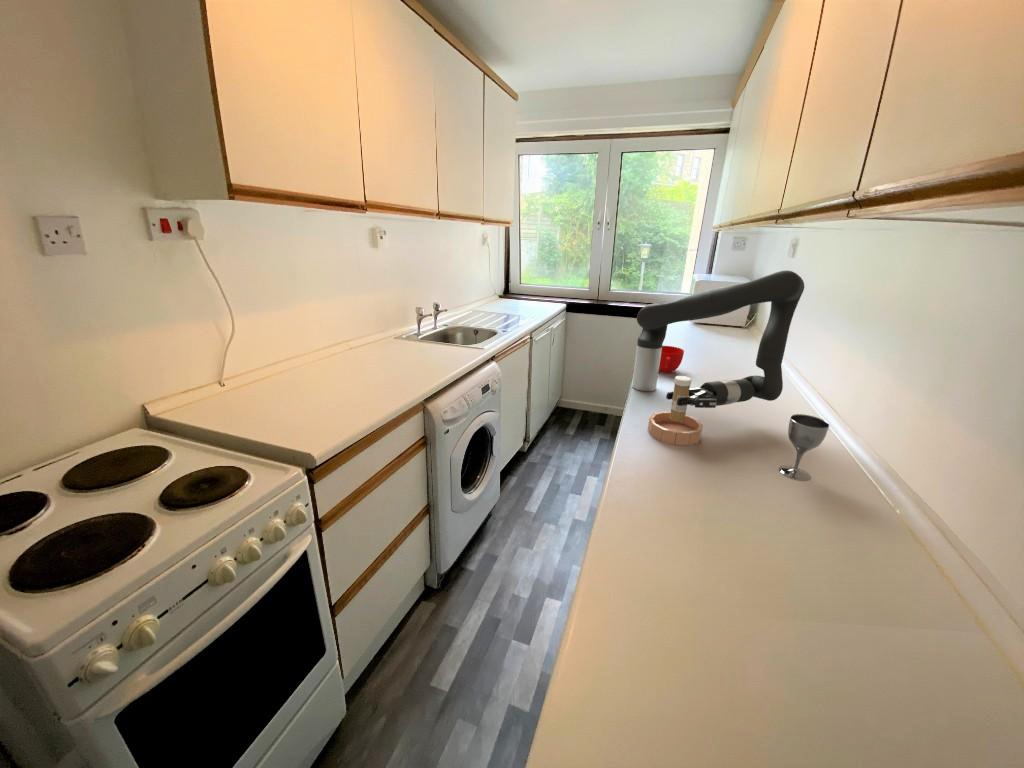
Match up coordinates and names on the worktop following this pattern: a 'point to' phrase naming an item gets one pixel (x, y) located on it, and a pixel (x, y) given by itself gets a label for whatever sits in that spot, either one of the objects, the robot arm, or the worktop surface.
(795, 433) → the wine glass
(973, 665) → the worktop surface
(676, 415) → the sprinkles bottle
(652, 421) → the terracotta bowl
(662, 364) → the ceramic cup
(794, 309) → the robot arm
